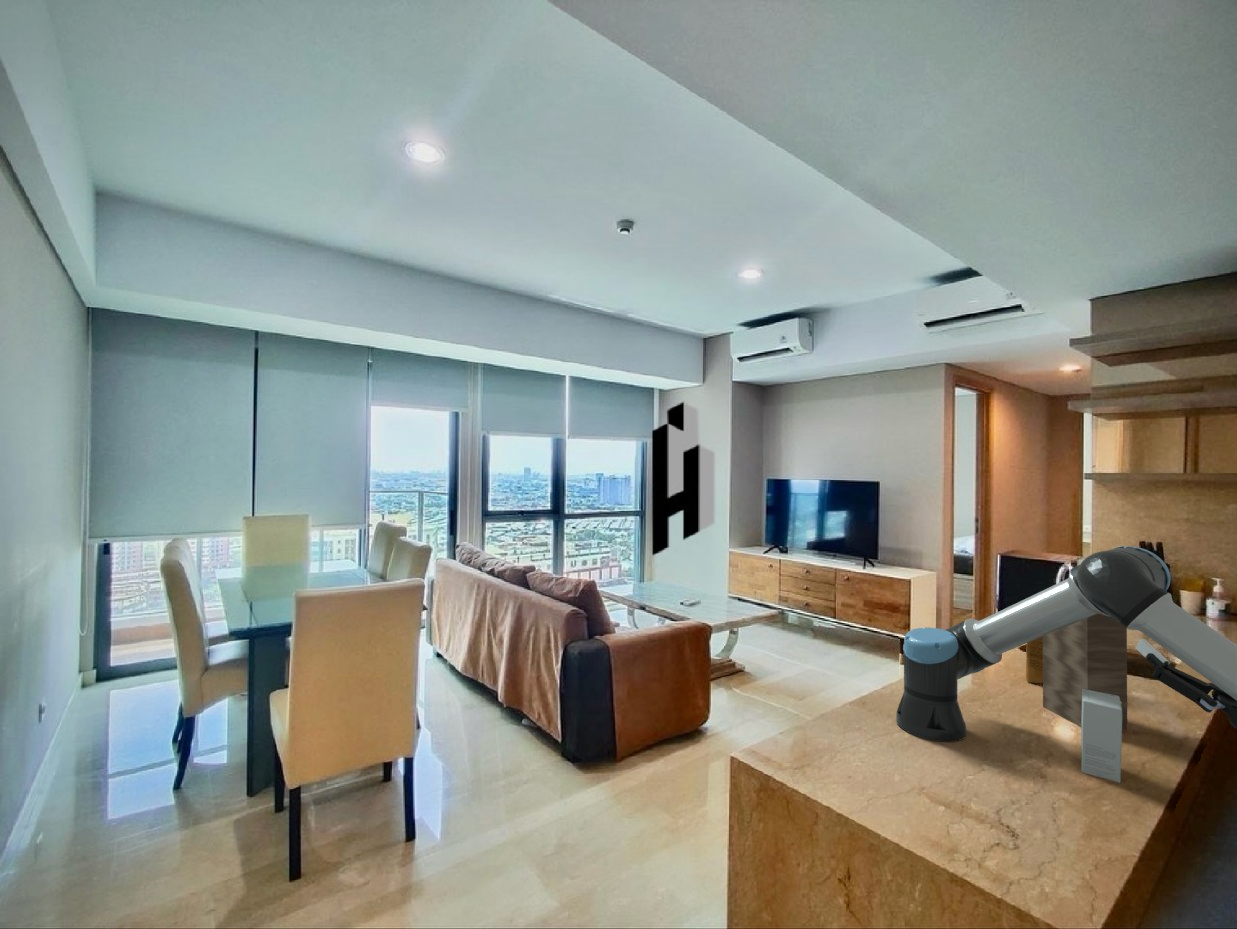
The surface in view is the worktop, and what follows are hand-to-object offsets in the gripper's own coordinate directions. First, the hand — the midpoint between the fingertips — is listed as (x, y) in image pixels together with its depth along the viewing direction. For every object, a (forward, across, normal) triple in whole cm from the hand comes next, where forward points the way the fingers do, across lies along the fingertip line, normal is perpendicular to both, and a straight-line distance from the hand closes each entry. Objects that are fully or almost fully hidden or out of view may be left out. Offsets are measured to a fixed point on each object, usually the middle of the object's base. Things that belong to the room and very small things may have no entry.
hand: (1169, 643), depth 123 cm
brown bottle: (+27, +10, -46) cm, 55 cm away
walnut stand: (+6, 0, -34) cm, 34 cm away
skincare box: (-16, -18, -21) cm, 32 cm away
